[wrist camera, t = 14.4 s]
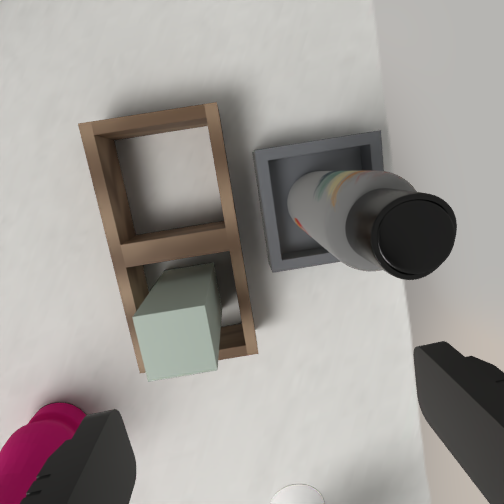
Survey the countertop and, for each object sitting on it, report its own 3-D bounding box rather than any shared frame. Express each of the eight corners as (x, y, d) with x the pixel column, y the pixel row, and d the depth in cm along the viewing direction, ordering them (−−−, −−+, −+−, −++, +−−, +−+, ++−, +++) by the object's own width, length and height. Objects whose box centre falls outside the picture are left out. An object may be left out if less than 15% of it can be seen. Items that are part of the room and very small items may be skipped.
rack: (100, 130, 33) (78, 123, 28) (218, 112, 33) (216, 102, 29) (151, 347, 38) (140, 373, 33) (255, 330, 38) (258, 353, 33)
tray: (252, 152, 34) (254, 150, 31) (366, 134, 35) (380, 130, 31) (268, 263, 37) (272, 272, 33) (375, 245, 37) (389, 253, 34)
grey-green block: (164, 270, 36) (132, 317, 25) (213, 262, 37) (204, 305, 25) (174, 316, 38) (148, 381, 26) (222, 308, 38) (217, 370, 26)
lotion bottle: (327, 240, 36) (441, 323, 16) (276, 215, 35) (329, 271, 15) (355, 187, 35) (512, 207, 15) (303, 160, 34) (397, 145, 14)
